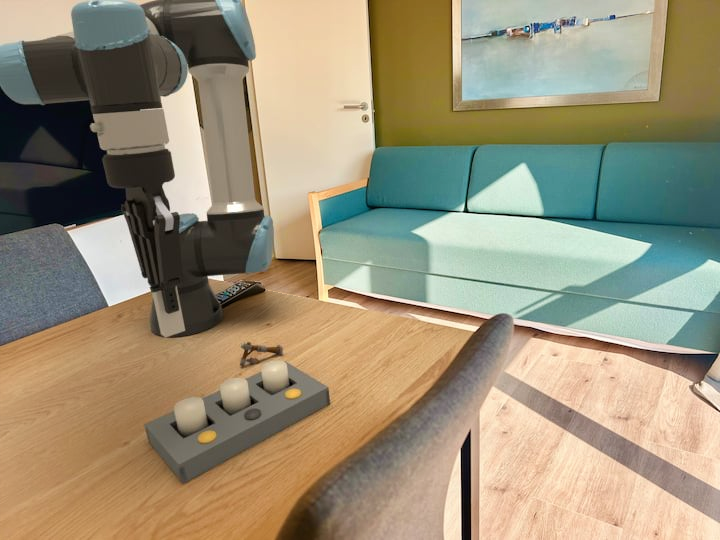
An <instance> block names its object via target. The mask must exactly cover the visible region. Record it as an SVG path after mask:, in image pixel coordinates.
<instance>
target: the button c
mask: <svg viewBox="0 0 720 540" xmlns="http://www.w3.org/2000/svg"><path fill="white" fill-rule="evenodd" d="M260 372H262V379H263V386H264V391H266V392H267V393H268V394H270V395H271V396H272V395H274V394H276V393H278V392H280V391H282V390H284V389H286V388H288V387H290V386H291V385H290V381H289V378H288V370H287V364H286V363H285V362H284V360H279V359H278V360H276V359H275V360H270V361H268V362H265V363H264V364H263V365H262V366H261V367H260Z"/></svg>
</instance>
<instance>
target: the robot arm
mask: <svg viewBox="0 0 720 540" xmlns="http://www.w3.org/2000/svg"><path fill="white" fill-rule="evenodd" d="M70 17H71V22H72V24H71V25H72V31H70V32H65V33H61V34H58V35H56V36H51V37H47V38H44V39H38V40H29V41H25V40H19V41H17V42H8V43H3V44H1V45H0V88H1V89H2V91H3V92H4V94H5V95H6V96H7V97H9V98H10V100H11V101H14V102H15V103H17V104H21V105H41V106H45V105H46V104H57V103H68V102H80V101H89V104H90V111H91V113H92V116H93V117H92V118H93V121H94V123H93V122H92V123H90V125H89V128H90V131H92V132H93V133H96V135H97V138H98V143H99V148H100V149H101V150H103V151H106V154H104V155H103V157H102V158H101V159H102V160H101V161H102V164H103V169H104V172H105V178H106V182H107V184H108V186H110V187H111V188H114V189H125V199H126V200H125V202H124V204H121V205H120V209H121V212H122V214H123V217H124V218H125V221H126V222H125V223H126V224H127V227H128V231H129V235H130V237H131V241H132V244H133V248H134V251H135V255H136V258H137V262H138V266H139V269H140V272H141V276H142V278H143V279H147V283H148V285H149V289H150V292H151V295H152V297H151V298H152V299H151V306H150V314H149V324H150V329H151V332H152V333H153V334H155V335H157V336H160V337H164V338H168V337H169V338H174V337H175V338H177V337H183V336H185V337H186V336H190V335H195V334H198V333H201V332H204V331H207V330H209V329H211V328H213V327H214V326H217V324H219V323H220V322H221V321H222V319H223V316H224V315H223V314H224V313H223V308H222V305H221V303H220V301H219V299H218V297H217V296H216V294H215V292H214V290H213V289H212V287H211V285H210V282H209V277H214V276H226V275H227V276H228V275H239V274H241V275H242V274H245V275H249V274H253V273H255V274H256V273H262V272H265V271H267V270H268V269H269V268H270V265H271V263H272V258H273V252H274V242H275V240H274V239H275V229H274V228H275V227H274V221H273V218H272V216H269V215H265V210H264V206H263V205H262V204H260V203H259V202H258V201H257V199H256V195H255V186H254V176H253V168H252V167H253V166H252V156H251V148H250V140H249V139H250V138H249V137H250V136H249V130H248V120H247V111H246V102H245V101H246V100H245V93H244V92H245V91H244V83H243V80H244V78H245V77H246V76H247V74H248V73H249V72H250V66H249V62H252V61H253V60H255V59H256V58H257V52H256V45H255V40H254V39H255V38H254V34H253V31H252V27H251V23H250V20H249V17H248V13H247V11H246V8H245V6H244V4H243V2H242V1H241V0H152V1H148V2H144V3H141V4H138V3H136V2H133V1H129V0H128V1H127V0H85V1H82V2H78V3H77V4H75V5H74V6H73V7H72V9H71V12H70ZM188 74H190V75H191V76H192V77H193V78H194V79H195V80H196V81H197V84H198V93H199V100H200V102H199V103H200V109H201V119H202V124H203V125H202V126H203V132H204V141H205V150H206V158H207V165H208V175H209V180H210V190H211V197H212V205H210V207H209V208H208V209H207V211H206V218H207V219H206V220H199V217H198V215H197V214H196V213H194V212H192V213H181V214H179V212H178V211H174V212H170V211H171V207H170V201H169V199H168V197H167V195H166V194H165V191H164V188H163V185H164V184H165V183H169V182H171V181H173V180H174V179H175V176H176V173H175V169H174V163H173V157H172V151H170V150H169V149H168V148H166V145H167V144H169V142H170V137H169V131H168V126H167V122H166V117H165V115H166V114H165V111H164V108H163V103H162V98H161V97H164V98H165V97H168V96H170V95H172V94H175V93H177V92H179V91H180V90H181V89H182V88H183V86H184V85H185V84H186V81H187V78H188Z"/></svg>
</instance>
